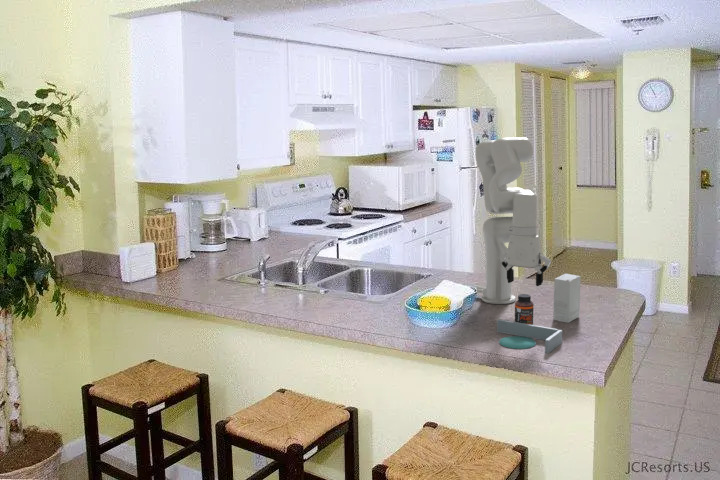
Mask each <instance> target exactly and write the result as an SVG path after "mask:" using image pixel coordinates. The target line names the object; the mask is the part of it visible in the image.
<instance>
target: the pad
mask: <svg viewBox="0 0 720 480" xmlns="http://www.w3.org/2000/svg"><path fill="white" fill-rule="evenodd" d="M498 343H499V345H501V346H502V347H504V348H506V349H507V348H508V349H513V350H514V349H515V350H526V349H531V348H533V347H535V346H536V345H537V343H536V341H535V340H534V338H529V337H523V336H517V335H512V336H505V337H502V338H500V339H499V341H498Z"/></svg>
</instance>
